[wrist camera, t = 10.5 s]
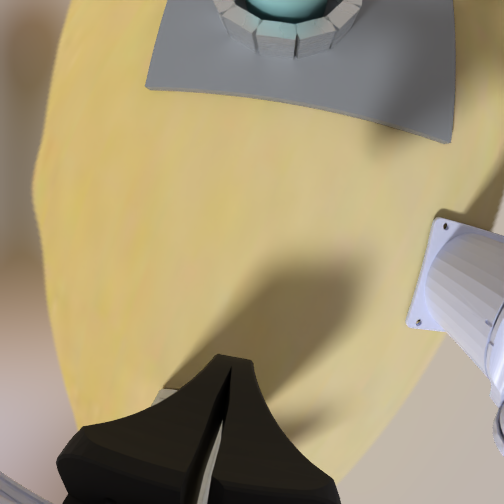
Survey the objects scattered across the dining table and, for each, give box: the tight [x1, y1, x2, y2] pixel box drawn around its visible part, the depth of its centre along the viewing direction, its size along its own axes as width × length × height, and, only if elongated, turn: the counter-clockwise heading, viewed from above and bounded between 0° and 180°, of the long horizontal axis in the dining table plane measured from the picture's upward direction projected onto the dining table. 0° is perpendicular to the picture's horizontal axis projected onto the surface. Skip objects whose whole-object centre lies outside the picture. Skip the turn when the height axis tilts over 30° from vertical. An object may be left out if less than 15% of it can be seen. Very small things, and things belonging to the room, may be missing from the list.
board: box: [145, 0, 456, 144], centre depth 16 cm, size 20×14×1 cm
